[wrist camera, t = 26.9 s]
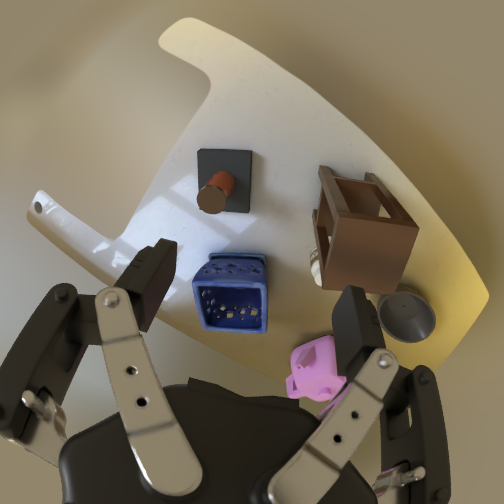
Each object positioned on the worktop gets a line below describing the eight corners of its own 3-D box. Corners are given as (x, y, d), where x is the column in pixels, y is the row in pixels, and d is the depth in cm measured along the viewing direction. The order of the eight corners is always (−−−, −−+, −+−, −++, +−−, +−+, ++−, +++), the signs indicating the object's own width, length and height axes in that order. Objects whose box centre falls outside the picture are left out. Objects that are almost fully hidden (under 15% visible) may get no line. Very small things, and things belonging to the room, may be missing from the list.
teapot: (295, 325, 66) (294, 376, 53) (364, 329, 64) (373, 378, 52) (285, 365, 76) (282, 410, 64) (343, 368, 75) (346, 411, 63)
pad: (200, 148, 45) (197, 151, 43) (252, 150, 44) (250, 153, 42) (202, 205, 51) (199, 209, 49) (249, 208, 50) (248, 213, 48)
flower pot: (272, 295, 61) (268, 336, 51) (214, 292, 63) (201, 331, 53) (271, 244, 54) (267, 284, 44) (205, 243, 55) (188, 280, 46)
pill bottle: (321, 241, 52) (325, 265, 46) (335, 254, 53) (341, 279, 47) (305, 255, 54) (306, 279, 48) (319, 267, 55) (323, 292, 49)
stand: (319, 165, 44) (339, 216, 27) (373, 173, 43) (419, 228, 27) (311, 217, 49) (322, 289, 33) (362, 223, 49) (393, 294, 32)
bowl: (401, 332, 64) (406, 350, 59) (358, 292, 58) (363, 312, 53) (436, 308, 58) (444, 325, 53) (401, 260, 52) (410, 279, 47)
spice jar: (210, 169, 45) (196, 186, 38) (235, 171, 44) (226, 187, 38) (210, 193, 47) (197, 213, 40) (235, 195, 47) (226, 215, 40)
